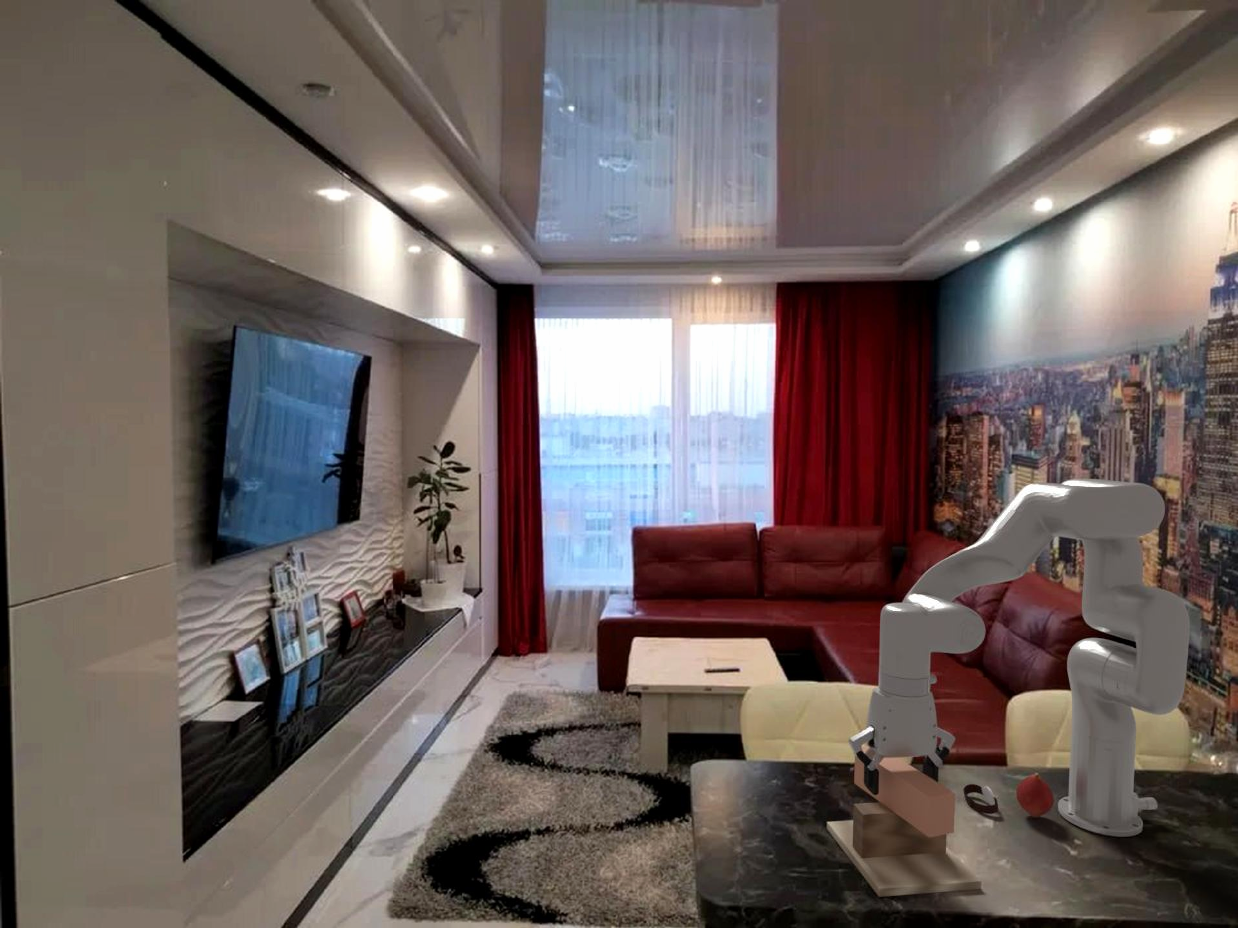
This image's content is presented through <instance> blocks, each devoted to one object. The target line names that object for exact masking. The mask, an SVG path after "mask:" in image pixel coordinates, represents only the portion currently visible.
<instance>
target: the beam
mask: <svg viewBox="0 0 1238 928" xmlns="http://www.w3.org/2000/svg"><path fill="white" fill-rule="evenodd" d="M868 749H869V746H868V745H867V746H862V750H863V752H864V753H865V752H866V751H867V750H868ZM876 769H877V770H878V771H879V793H878V795H873V794H872V793H871V792H870V791H869V790H868V789H867V788H866V786H865V785H864V763H863V762H862V761H861V760H860V759H859V758H858V757H857V756H856V755H855V754H854V776H853V777H854V778H853V779H854V782H853V783H854V784H855V785H856V786H857V787H859V789H862V790H863V791H864V792H865V793H867V794H869V795H870V796H871V797H872V798H874V799H876V800H877V802H881V803H882V804H884V805H885V806H886V807H888V808H889V809H890V810H892V811H893V812H895V813H896V814H897V815H899V816H900V817H902V818H903V819H904V820H906V821H907V822H908V823H910V824H911V825H913V826H914V827H915V828H917V829H918V830H919V831H921V832H922V833H924V834H925V835H926V836H928V837H934V836H939V835H944V834H946V835H947V834H948V835H949V834H953V833H955V809H956V808H955V807H956V806H955V805H956V804H955V803H956V793H955V792H954V791H952V790H951V789H950V788H948V787H946V786H944V785H943V784H941V783H939V781H938V782H936V781H935V780H933V779H931V778H930V777H928V776H927V775H925V774H923V773H922V772H921V771H920V770H918V769H917V768H915V767H914V766H912V765H910V764H909V763H907V762H906V761H904V760H903V759H900V758H883V760H882V761H881V762H880V763H879V764H878V766H877V767H876Z"/></svg>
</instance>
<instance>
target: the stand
mask: <svg viewBox="0 0 1238 928" xmlns="http://www.w3.org/2000/svg"><path fill="white" fill-rule="evenodd" d="M852 811H853V815H852V816H853V818H852V819H851V820H849V819H848V820H836V821H826V830H827V832H829V834H830V835H831V836H832V837H833V839H834V840H835V841H836V843H837V844H838V845H839V846H840V848H841V849H842V850H843V852H844V853H845V855H846V856H847V857H848V858H849V859H850V861H851V863H853V865H854V866H855V868H856V869H857V870H858V872H859V873H860V874H861V875H862V877H864V879H865V880H866V881H867V883H868V884H869V886H870V887H871V889H873V891H874V892H875V893H876V895H877V896H878V898H880V897H881V898H882V897H892V896H905V895H908V896H909V895H918V894H932V893H933V894H934V893H944V892H957V891H960V892H961V891H970V890H971V891H972V890H981V889H982V880H981V879H980V878H979V877H978V876H977V875H976V874H975V873H974V872H973V871H972V870H971V869H970V868H969V867H968V866H967V865H966V864H965V863H964V862H963V861H962V860H961V859H960V858H959V857H957V855H955V854H954V852H953V851H951V849H949V848H948V847H947V834H944V835H939V836H934V837H928V836H926V835H925V834H924V833H922V832H921V831H919V830H918V829H917V828H915V827H914V826H913V825H911V824H910V823H908V822H907V821H906V820H904V819H903V818H902V817H900V816H899V815H897V814H896V813H895V812H893V811H892V810H890V809H889V808H888V807H886V806H885V805H884V804H882V803H881V802H879V801H877V802H863V803H861V802H859V803H853V810H852Z"/></svg>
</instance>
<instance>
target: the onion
mask: <svg viewBox="0 0 1238 928" xmlns="http://www.w3.org/2000/svg"><path fill="white" fill-rule="evenodd" d="M1015 790H1016V791H1015V796H1016V800H1017V802H1018V803H1019V806H1020V807H1021V808H1022V809H1023V810H1024V811H1025V812H1026V813H1028V814H1029V815H1030V817H1032V818H1034V819H1038V818H1040V817H1041V816H1043V815H1045V814H1047V813H1048V812H1049V811H1051V809H1053V807H1054V804H1055V801H1054V800H1055V797H1054V794H1053V791H1052V789H1051V787H1050V786H1049V784H1047V782H1045V781H1044V780H1043V779H1041V777H1040V773H1038V772H1034V773H1033V774H1032V775H1030V776H1027V777H1025V778H1024V779H1022V780H1021V781H1020V782H1019V784H1018V786H1017V787H1016V789H1015Z"/></svg>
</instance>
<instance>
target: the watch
mask: <svg viewBox="0 0 1238 928" xmlns="http://www.w3.org/2000/svg"><path fill="white" fill-rule="evenodd" d="M962 792H963V795H964V800H965V802H966V801H967V802H966V804H967V805H968V806H969V807H971V808H973V809H974V808H975V810H976V812H977V811H978V812H980V813H982V814H987V815H990V814H991V815H993V814H996V813H998V811H999V804H998V803H999V802H998V799H997V798H996V795H995V793H994V792H993V791H992V789H991V788H990V787H989V786H988V785H985V786H983V787H982V786H980V785H978V784H975V783H971V784H966V785H965V786H964V787H963V791H962ZM973 793H975V794H980V795H982V796H983V797H984V798H985V801H986V802H987V803H988V805H986V804H985V805H984V804H981V803H978V802H976V801H975V800H973V799H972V798H971V797H969V795H970V794H973ZM968 794H969V795H968Z"/></svg>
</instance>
